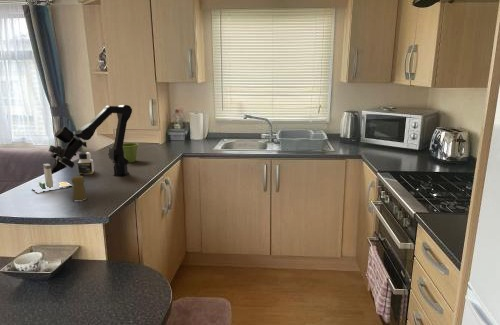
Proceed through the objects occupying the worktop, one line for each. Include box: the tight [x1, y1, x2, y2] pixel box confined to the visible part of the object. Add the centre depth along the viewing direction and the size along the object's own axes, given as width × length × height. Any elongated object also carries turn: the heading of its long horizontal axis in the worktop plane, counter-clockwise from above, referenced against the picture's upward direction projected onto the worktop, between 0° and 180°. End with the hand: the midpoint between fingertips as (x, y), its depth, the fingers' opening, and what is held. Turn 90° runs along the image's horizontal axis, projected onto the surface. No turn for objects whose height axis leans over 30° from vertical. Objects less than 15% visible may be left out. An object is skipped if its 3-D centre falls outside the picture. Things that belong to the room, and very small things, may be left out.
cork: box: [71, 175, 88, 201], centre depth 163 cm, size 6×6×11 cm
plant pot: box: [123, 142, 139, 163], centre depth 237 cm, size 12×12×11 cm
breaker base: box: [38, 180, 73, 189], centre depth 182 cm, size 16×10×4 cm, turn 133°
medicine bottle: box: [77, 151, 95, 176], centre depth 209 cm, size 7×7×12 cm
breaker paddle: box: [42, 163, 54, 188], centre depth 180 cm, size 2×5×11 cm, turn 43°
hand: (50, 173), depth 181 cm, fingers closed, pressing on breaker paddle
